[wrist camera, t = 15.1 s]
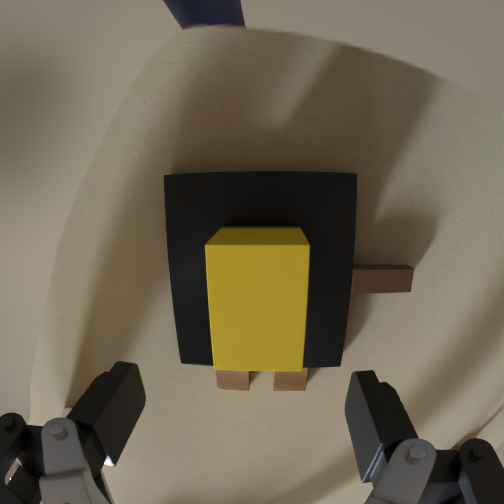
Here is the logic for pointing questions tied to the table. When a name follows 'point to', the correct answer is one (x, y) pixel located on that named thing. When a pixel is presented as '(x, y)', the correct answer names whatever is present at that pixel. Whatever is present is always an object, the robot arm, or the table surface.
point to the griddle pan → (271, 214)
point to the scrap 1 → (233, 379)
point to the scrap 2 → (290, 380)
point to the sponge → (258, 297)
